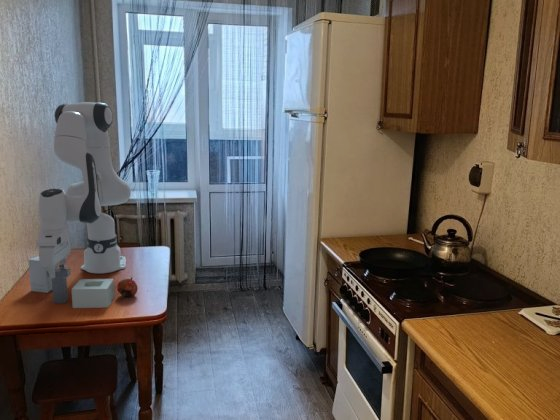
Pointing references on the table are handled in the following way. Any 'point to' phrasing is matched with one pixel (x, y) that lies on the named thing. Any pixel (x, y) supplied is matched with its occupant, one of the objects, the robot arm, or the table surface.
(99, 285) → the well block
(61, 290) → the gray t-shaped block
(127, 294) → the pomegranate
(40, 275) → the supplement box
